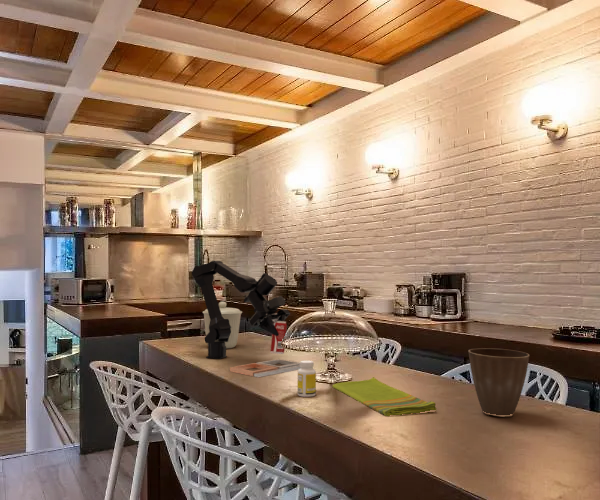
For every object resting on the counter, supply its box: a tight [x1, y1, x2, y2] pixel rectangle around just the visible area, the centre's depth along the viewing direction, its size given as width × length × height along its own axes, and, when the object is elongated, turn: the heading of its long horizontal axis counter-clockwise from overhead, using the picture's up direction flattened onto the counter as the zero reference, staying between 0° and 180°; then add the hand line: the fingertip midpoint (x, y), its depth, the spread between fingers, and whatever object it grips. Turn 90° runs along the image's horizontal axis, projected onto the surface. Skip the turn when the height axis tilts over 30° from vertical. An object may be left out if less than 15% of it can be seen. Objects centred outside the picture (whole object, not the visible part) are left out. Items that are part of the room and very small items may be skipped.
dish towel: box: [331, 376, 437, 417], centre depth 159 cm, size 15×36×3 cm, turn 19°
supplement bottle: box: [297, 360, 317, 398], centre depth 162 cm, size 5×5×10 cm
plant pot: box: [468, 347, 530, 415], centre depth 144 cm, size 15×15×16 cm
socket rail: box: [229, 358, 301, 378], centre depth 201 cm, size 25×14×2 cm, turn 138°
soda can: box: [270, 320, 288, 355], centre depth 207 cm, size 5×5×12 cm
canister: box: [202, 301, 243, 350], centre depth 254 cm, size 18×18×21 cm
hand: (282, 334), depth 206 cm, fingers closed on soda can, 5 cm apart
